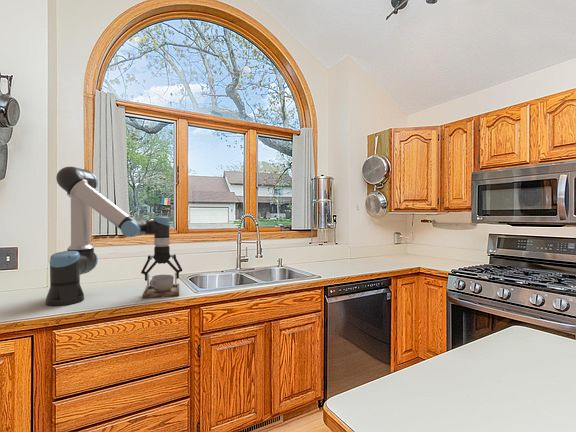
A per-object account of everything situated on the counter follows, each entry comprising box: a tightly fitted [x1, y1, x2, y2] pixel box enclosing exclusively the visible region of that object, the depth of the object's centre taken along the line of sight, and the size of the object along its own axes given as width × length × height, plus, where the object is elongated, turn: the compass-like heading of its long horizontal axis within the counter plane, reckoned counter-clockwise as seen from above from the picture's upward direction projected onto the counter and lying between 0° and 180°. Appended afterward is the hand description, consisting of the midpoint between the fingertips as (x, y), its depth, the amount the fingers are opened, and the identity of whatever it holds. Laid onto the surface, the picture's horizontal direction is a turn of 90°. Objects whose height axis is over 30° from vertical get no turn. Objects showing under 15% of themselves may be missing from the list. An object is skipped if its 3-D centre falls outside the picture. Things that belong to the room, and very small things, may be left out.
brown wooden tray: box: [142, 283, 180, 300], centre depth 172 cm, size 17×20×2 cm
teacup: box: [149, 274, 175, 292], centre depth 172 cm, size 14×11×8 cm
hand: (162, 286), depth 172 cm, fingers open, 13 cm apart
